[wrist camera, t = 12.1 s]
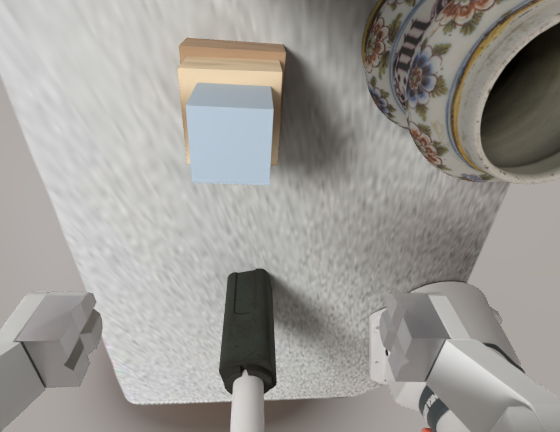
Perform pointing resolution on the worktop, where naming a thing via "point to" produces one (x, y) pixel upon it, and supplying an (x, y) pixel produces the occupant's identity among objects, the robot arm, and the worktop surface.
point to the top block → (232, 73)
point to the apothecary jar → (471, 83)
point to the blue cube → (230, 133)
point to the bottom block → (234, 53)
